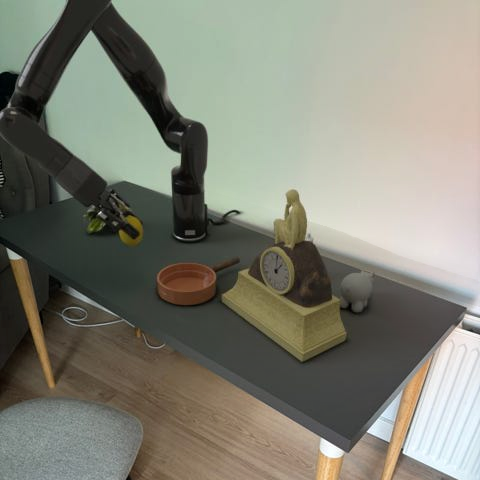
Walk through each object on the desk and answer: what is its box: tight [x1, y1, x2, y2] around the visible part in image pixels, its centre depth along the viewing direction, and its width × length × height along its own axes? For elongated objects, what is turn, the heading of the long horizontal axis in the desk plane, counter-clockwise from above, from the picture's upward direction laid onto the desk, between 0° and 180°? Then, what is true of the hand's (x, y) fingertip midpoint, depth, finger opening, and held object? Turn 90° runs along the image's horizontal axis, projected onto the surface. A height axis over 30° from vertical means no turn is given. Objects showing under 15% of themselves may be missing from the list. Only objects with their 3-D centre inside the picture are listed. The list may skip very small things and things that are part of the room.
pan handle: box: [206, 256, 241, 274], centre depth 131 cm, size 11×2×2 cm, turn 133°
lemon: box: [118, 215, 144, 248], centre depth 121 cm, size 6×6×8 cm
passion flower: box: [83, 205, 116, 235], centre depth 152 cm, size 11×11×12 cm
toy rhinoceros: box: [339, 267, 375, 314], centre depth 122 cm, size 7×12×8 cm, turn 141°
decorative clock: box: [221, 188, 348, 363], centre depth 108 cm, size 28×13×30 cm, turn 37°
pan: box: [156, 262, 217, 306], centre depth 125 cm, size 14×14×4 cm
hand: (138, 230), depth 121 cm, fingers closed on lemon, 5 cm apart
